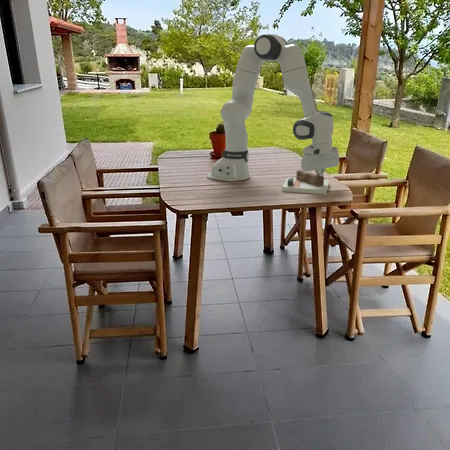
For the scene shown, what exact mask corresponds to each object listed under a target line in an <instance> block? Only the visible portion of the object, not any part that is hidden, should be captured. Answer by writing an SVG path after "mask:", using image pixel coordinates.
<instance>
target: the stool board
mask: <svg viewBox="0 0 450 450" xmlns="http://www.w3.org/2000/svg"><path fill="white" fill-rule="evenodd" d="M329 184H330V180H329V179H324V185H323V186H316V185H313V184H310V183H307V182H304V181H301V180H298V179H296V177H289V176H288V177H287V179H286V180H285V182H284V183H283V185H282V187H281V192H289V193H300V194H301V193H303V194H317V195H328V191H329V190H328V189H329Z"/></svg>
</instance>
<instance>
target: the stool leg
mask: <svg viewBox="0 0 450 450" xmlns="http://www.w3.org/2000/svg"><path fill="white" fill-rule="evenodd" d="M295 178H296V179H298V180H301V181H304V182H307V183H310V184H313V185H316V186H323V185H324V180H325V177H324V175H323V176H319V175H317V174H316V173H312V172H310V171H304V170H302V169H298V170H296V176H295Z"/></svg>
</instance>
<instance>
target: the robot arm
mask: <svg viewBox="0 0 450 450" xmlns="http://www.w3.org/2000/svg"><path fill="white" fill-rule="evenodd" d="M265 62H277V63H278V64H279V66H280V70H281V76H282V77H281V78H282V80H283V84H284V85H285V86H284V87H285V89H286V90H288V91H289V92H291V93H293V94H294V95H295V96H297V98H298V99H299V100H300V103H301V106H302V110H303V114H304V117H303V118H300V119H298V120H295V122H294V124H293V126H292V133H293V136H294V137H295V138H296V139H297V140H300V141H305V140H311V143H310V145H307V146H305V147H304V148H302V153H303V154H302V157H301V164H300V166H301V167H300V169H301V170H303V171H306V172H312V171H314V172H315V174H316V175H319V176H323V177H324V174H325V172H326V169H327V168H329V169H330V168H334V167H338V166H339V164H340V154H339V148H338V147H337V146H333V138H332V137H333V133H334V117H333V114H332V113H330V112H328V111H325V110H323V111H322V110H318V107H317V103H316V100H315V96H314V92H313V88H312V86H311V82H310V79H309V75H308V69H307V65H306V60H305V57H304V54H303V51H302V49H301V47H300V46H299V45H298V44H288V42H287V41H286V38H284V37H282V36H279V35H278V34H274V33H273V34H271V33H263V34H260V35H259V36H257V37H256V39H255V40H254V43H253V44H250V45H249V44H248V45H246V46H245V47H244V48H243V49H242V51H241V54H240V57H239V59H238V61H237V65H236V69H235V71H234V72H235V73H234V76H233V80H232V85H231V87H232V93H231V99H230V100H228V101H226V102H225V103H224V104H222V106H221V109H220V118H221V119H222V122H223V128H224V134H225V149H223V151H221V155H222V157H221V158H219V159H218V160H217V161H216V162H214V163H213V164H212V167H211V170H210V172H209V173H207V175H206V178H207V179H210V180H217V181H218V180H219V181H225V182H236V181H244V180H248V179H250V178H251V175H250V170H249V150H248V144H249V143H248V132H247V128H246V120H247V119H249V117H250V115H251V114H252V109H253V102H254V95H255V91H256V85H257V84H258V83H257V82H258V78H259V76H260V71H261V68H262V65H263V64H264V63H265Z"/></svg>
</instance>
